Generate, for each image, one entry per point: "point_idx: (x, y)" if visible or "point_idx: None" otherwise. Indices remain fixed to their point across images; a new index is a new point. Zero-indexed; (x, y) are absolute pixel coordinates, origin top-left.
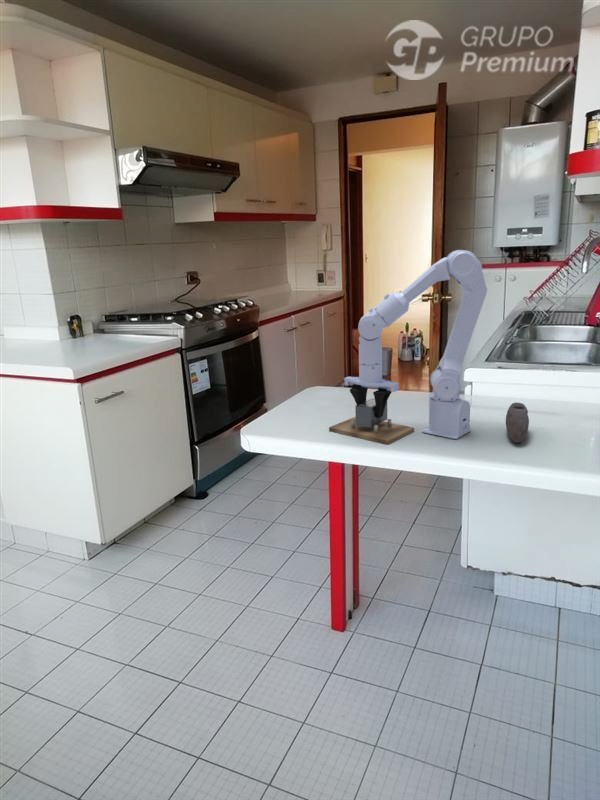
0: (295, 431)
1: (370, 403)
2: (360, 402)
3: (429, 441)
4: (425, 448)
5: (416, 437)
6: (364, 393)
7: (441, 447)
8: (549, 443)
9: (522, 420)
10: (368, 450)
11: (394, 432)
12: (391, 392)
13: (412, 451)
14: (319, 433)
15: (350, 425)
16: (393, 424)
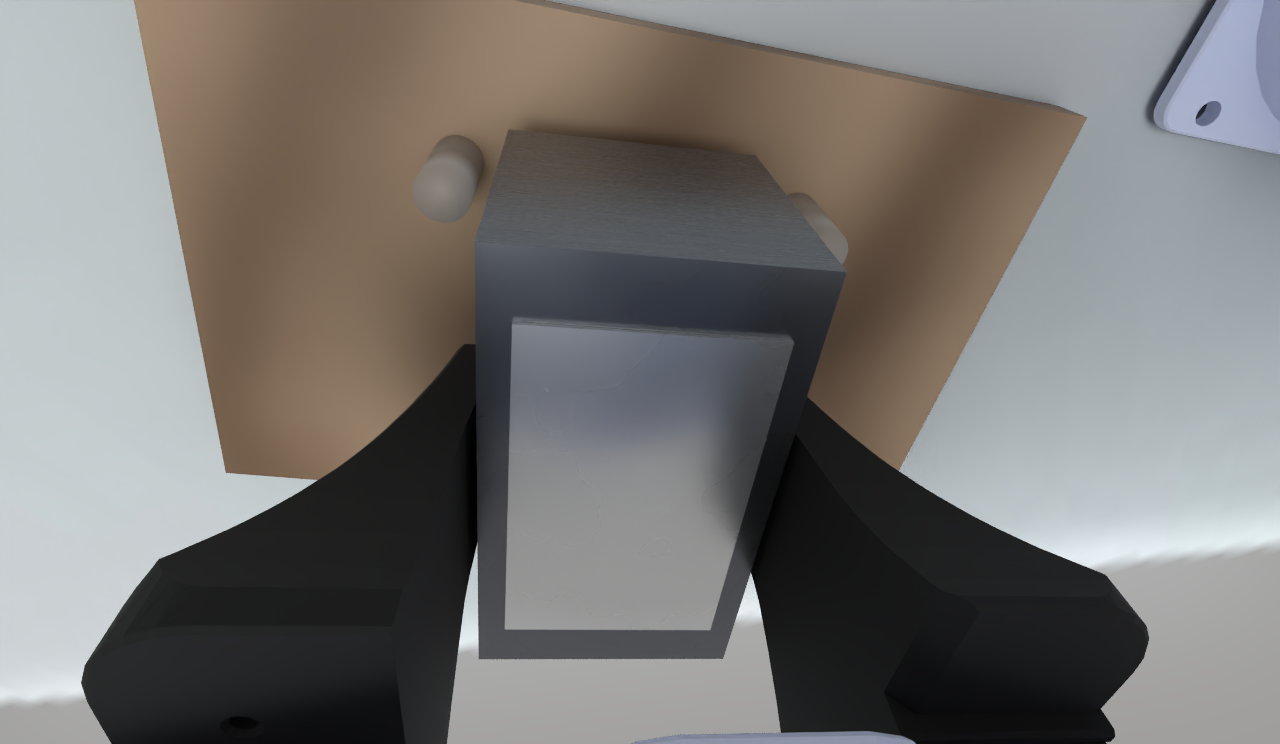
0: (3, 557)
1: (626, 530)
2: (465, 570)
3: (1189, 315)
4: (1138, 452)
5: (1077, 270)
6: (439, 589)
7: (1266, 393)
8: None
9: None
10: (758, 610)
11: (885, 349)
12: (1090, 576)
13: (1043, 525)
14: (221, 517)
15: (369, 346)
16: (818, 107)
